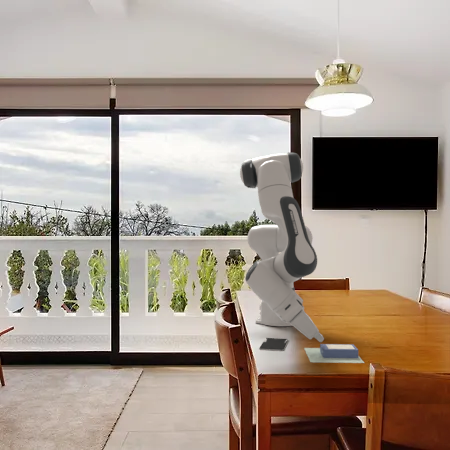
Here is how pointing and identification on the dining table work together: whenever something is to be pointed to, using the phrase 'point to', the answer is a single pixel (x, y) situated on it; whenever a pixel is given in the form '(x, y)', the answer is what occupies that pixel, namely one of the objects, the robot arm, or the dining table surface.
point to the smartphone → (274, 344)
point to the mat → (316, 356)
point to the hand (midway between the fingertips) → (321, 339)
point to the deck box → (338, 351)
